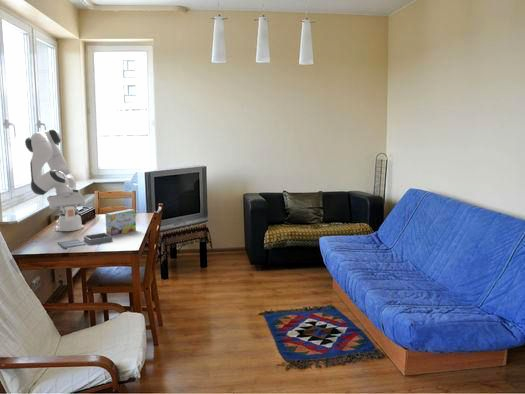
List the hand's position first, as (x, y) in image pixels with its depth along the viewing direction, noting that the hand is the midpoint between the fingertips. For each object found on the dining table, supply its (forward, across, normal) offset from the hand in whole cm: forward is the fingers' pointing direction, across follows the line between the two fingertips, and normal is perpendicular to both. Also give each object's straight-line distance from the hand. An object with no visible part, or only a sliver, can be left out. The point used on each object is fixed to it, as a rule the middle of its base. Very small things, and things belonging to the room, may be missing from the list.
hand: (70, 212), depth 273 cm
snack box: (+6, +35, +23) cm, 42 cm away
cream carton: (+3, 0, +4) cm, 5 cm away
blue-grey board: (+13, 0, +16) cm, 20 cm away
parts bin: (+15, +15, +13) cm, 25 cm away
